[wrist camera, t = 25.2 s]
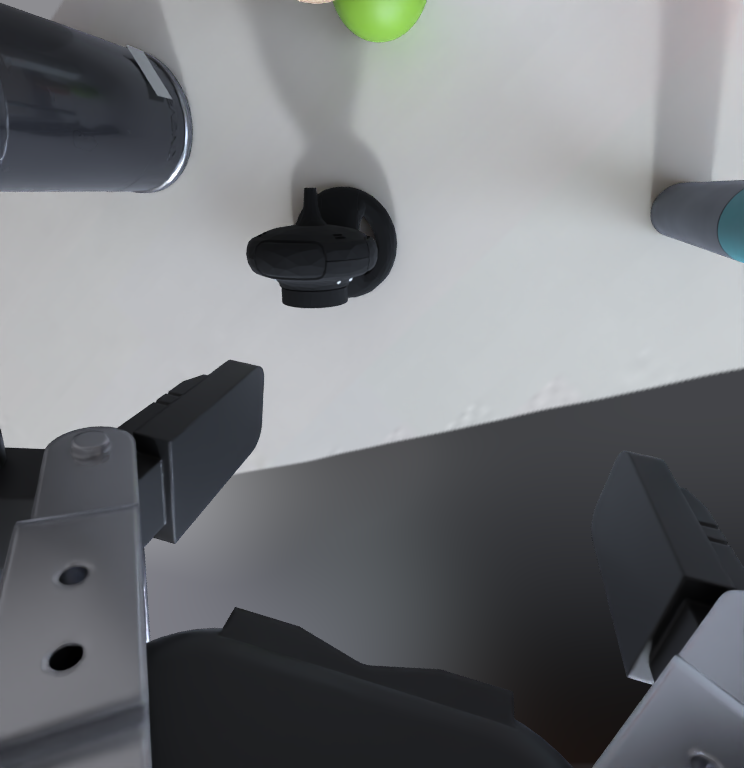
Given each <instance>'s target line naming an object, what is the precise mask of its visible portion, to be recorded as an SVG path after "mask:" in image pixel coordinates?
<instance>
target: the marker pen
mask: <svg viewBox="0 0 744 768" xmlns="http://www.w3.org/2000/svg"><path fill="white" fill-rule="evenodd" d="M651 221H652V224H653V226H654V227H655V229H656V230H657V231H658V232H659V233H661V234H663V235H665V236H668V237H671V238H674V239H677V240H679V241H682V242H685V243H688V244H691V245H694V246H697V247H700V248H702V249H705V250H708V251H711V252H714V253H717V254H720V255H722V256H725V257H728V258H731V259H734V260H737V261H740V262H742V263H744V180H734V181H711V182H687V183H678V184H675V185H672V186H670V187H668V188H666V189H665V190H664V191H662V192H661V193H660V194H659V195H658V197H657V198H656V199H655V201H654V203H653V205H652V209H651Z"/></svg>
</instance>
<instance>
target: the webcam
mask: <svg viewBox="0 0 744 768" xmlns="http://www.w3.org/2000/svg"><path fill="white" fill-rule="evenodd" d="M363 217H364V218H365V219H366V220H367V221H368V223H369V224H370V226H371V228H372V230H373V232H374V236H375V240H374V239H373V238H372V237H370V236H367V235H366V234H364V233H362V232H360V231H359V226H360V222H361V220H362V218H363ZM396 248H397V239H396V233H395V228H394V225H393V223H392V220H391V218H390V216H389V214H388V213H387V211H386V209H385V208H384V207H383V206H382V205H381V204H380V203H379V202H378V201H377V200H376V199H375V198H374V197H373V196H371V195H369V194H368V193H366V192H364V191H362V190H359V189H356V188H351V187H335V188H330V189H327V190H324V191H322V192H321V193H319V194H317V192H316V188H304V207H303V209H302V211H301V213H300V215H299V217H298V220H297V222H296V225H291V226H285V227H279V228H275V229H272V230H269V231H267V232H264V233H262V234H260V235H258V236H256V237H254V238H252V239H251V240H250V241H249V242H248V246H247V253H246V255H247V260H248V264H249V265H250V267H251V269H252V270H253V271H254V272H255V273H256V274H259V275H262V276H265V277H268V278H272V279H274V280H275V281H278V282H279V284H280V286H281V287H282V302H283V304H285V305H287V306H291V307H298V308H324V307H333V306H338V305H342V304H344V303H346V302H347V301H348V298H350V297H357V296H361V295H364V294H366V293H368V292H370V291H372V290H373V289H375V288H376V287H377V286H378V285H379V284H380V283H381V282H382V281H383V280H384V279H385V278H386V277H387V276H388V274H389V272H390V270H391V268H392V266H393V263H394V260H395V257H396Z"/></svg>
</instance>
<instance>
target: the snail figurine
mask: <svg viewBox="0 0 744 768" xmlns="http://www.w3.org/2000/svg"><path fill="white" fill-rule="evenodd" d="M298 1H301V2H306V3H312V4H322V3H328V2H332V1H333V4H334V6H335V9H336V11H337V13H338V15H339V17H340V19H341V20H342V22H343V23H344V24H345V25H346V27H347V28H348V29H349V30H350V31H351V32H353V33H354V34H355V35H357V36H358V37H360V38H362V39H364V40H367V41H371V42H387V41H391V40H394V39H396V38H398V37H400V36H402V35H403V34H405V33H406V32H407V31H408V30H409V29H410V28H411V27H412V26H413V25H414V24H415V23H416V21H417V20H418V18H419V17H420V15H421V13H422V11H423V9H424V6H425V3H426V0H298Z"/></svg>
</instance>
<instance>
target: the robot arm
mask: <svg viewBox="0 0 744 768" xmlns="http://www.w3.org/2000/svg"><path fill="white" fill-rule="evenodd" d="M126 46H127V47H123V46H121V45H118V44H115V43H112V42H109V41H107V40H104V39H102V38H99V37H96V36H93V35H90V34H88V33H85V32H82V31H79V30H76V29H73V28H70V27H68V26H65V25H62V24H59V23H56V22H53V21H50V20H48V19H45V18H42V17H39V16H36V15H33V14H30V13H28V12H25V11H22V10H19V9H16V8H13V7H10V6H8V5H5V4H2V3H0V192H83V191H107V192H130V191H131V192H137V193H152V192H157V191H161V190H163V189H165V188H167V187H168V186H170V185H171V184H172V183H174V182H175V181H176V180H177V179H178V177H179V176H180V175H181V173H182V172H183V170H184V168H185V166H186V164H187V162H188V159H189V156H190V152H191V146H192V120H191V114H190V109H189V106H188V102H187V100H186V97H185V94H184V92H183V90H182V88H181V86H180V84H179V83H178V81H177V80H176V78H175V77H174V75H173V74H172V73H171V71H170V70H169V69H168V68H167V67H166V66H165V65H164V64H163V63H162V62H161V61H159V60H158V59H157V58H155V57H153V56H152V55H150V54H148V53H146V52H143V50H140V49H137V48H134V47H131V46H129V45H126ZM263 390H264V372H263V369H262V367H260V366H256V365H251V364H247V363H243V362H238V361H234V360H228V361H227V362H225V363H224V364H223V365H221V366H220V367H219V368H217V369H216V370H215V371H213V372H212V373H211V374H209V375H201V376H198V377H195V378H192V379H189V380H186V381H183V382H182V383H180V384H179V385H177V386H176V387H175V388H173V389H172V390H170V391H169V393H168V394H165V395H163V396H162V397H160V398H159V399H158V400H157V401H156V403H154V402H153V403H152V404H150V405H149V406H148V407H146V408H145V409H143V410H142V411H141V412H139V413H138V414H136V415H135V416H133V417H132V418H131V419H129V420H128V421H126V422H125V423H124V424H122V425H121V426H119V427H118V428H114V427H101V426H100V427H88V428H82V429H78V430H74V431H71V432H68V433H66V434H63V435H61V436H59V437H57V438H56V439H55V440H53V441H52V442H51V443H50V444H49V445H48V446H47V447H46V449H28V448H5V447H4V442H3V438H2V433H1V429H0V768H573V767H572V766H571V765H570V764H569V763H568V762H567V761H566V760H565V759H564V758H563V757H562V756H561V755H560V753H559V752H557V751H556V750H555V749H554V748H553V747H552V746H551V745H549V744H548V743H547V742H546V741H545V740H544V739H543V738H541V737H540V736H539V735H537V734H536V733H534V732H533V731H532V730H530V729H529V728H528V727H526V726H525V725H523V724H522V723H520V722H518V721H517V720H515V719H514V698H513V691H510V690H506V689H503V688H500V687H497V686H493V685H490V684H487V683H483V682H480V681H477V680H473V679H470V678H467V677H464V676H460V675H457V674H454V673H450V672H447V671H444V670H439V669H421V668H404V667H386V666H370V665H365V664H362V663H360V662H358V661H356V660H354V659H353V658H351V657H349V656H347V655H346V654H344V653H342V652H341V651H339V650H338V649H336V648H334V647H333V646H331V645H329V644H328V643H326V642H324V641H323V640H321V639H319V638H318V637H316V636H314V635H312V634H311V633H309V632H308V631H306V630H304V629H303V628H301V627H299V626H296V625H292V624H289V623H286V622H283V621H279V620H276V619H273V618H270V617H266V616H263V615H260V614H256V613H253V612H250V611H247V610H243V609H240V608H237V607H235V608H234V610H233V612H232V613H231V615H230V617H229V618H228V620H227V622H226V624H225V625H224V627H223V628H207V629H195V630H189V631H183V632H178V633H175V634H171V635H168V636H164V637H160V638H158V639H155V640H153V641H150V629H149V614H148V598H147V583H146V566H145V553H144V547H145V546H146V545H147V543H149V541H150V540H151V539H152V538H157V539H160V540H163V541H167V542H170V543H173V544H175V543H176V542H177V541H178V540H179V538H180V537H181V536H182V535H183V534H184V533H185V531H186V530H187V529H188V528H189V527H190V525H191V524H192V523H193V522H194V521H195V520H196V518H197V517H198V516H199V515H200V514H201V512H202V511H203V510H204V509H205V508H206V506H207V505H208V504H209V503H210V502H211V500H212V499H213V498H214V497H215V496H216V494H217V493H218V492H219V491H220V489H221V488H222V487H223V486H224V485H225V484H226V482H227V481H228V480H229V479H230V478H231V476H232V475H233V474H234V473H235V472H236V470H237V469H238V468H239V467H240V466H241V465H242V463H243V462H244V461H245V460H246V459H247V457H248V456H249V455H250V454H251V453H252V451H253V450H254V448H255V447H256V445H257V442H258V440H259V437H260V433H261V428H262V411H263ZM591 534H592V535H591V536H592V541H593V544H594V549H595V552H596V556H597V560H598V564H599V568H600V572H601V576H602V580H603V584H604V588H605V592H606V596H607V600H608V604H609V608H610V612H611V616H612V619H613V623H614V627H615V631H616V635H617V639H618V643H619V647H620V651H621V655H622V659H623V663H624V667H625V670H626V675H627V677H629V678H632V679H635V680H639V681H642V682H646V683H650V684H653V685H652V687H651V688H650V689H649V691H648V692H647V694H646V695H645V696H644V698H643V699H642V700H641V702H640V703H639V705H638V706H637V707H636V709H635V710H634V712H633V713H632V714H631V716H630V717H629V718H628V720H627V721H626V723H625V724H624V725H623V726H622V728H621V729H620V731H619V732H618V733H617V735H616V736H615V738H614V739H613V740H612V742H611V743H610V744H609V746H608V747H607V748H606V750H605V751H604V753H603V754H602V755H601V757H600V758H599V760H598V761H597V762H596V764H595V765H594V766H593V768H744V568H743V566H742V564H741V563H740V561H739V559H738V558H737V556H736V554H735V553H734V551H733V550H732V548H731V546H728V545H727V544H728V541H727V540H726V538H725V536H724V535H723V533H722V531H721V530H719V529H718V525H717V523H716V522H715V520H714V518H713V517H712V515H711V513H710V512H709V510H708V509H707V507H706V506H705V505H704V504H702V503H701V502H700V501H699V500H698V499H697V498H696V497H695V496H694V495H693V494H692V493H690V492H689V491H688V490H687V489H685V488H680V487H679V486H678V484H677V482H676V480H675V478H674V477H673V475H672V473H671V471H670V470H669V468H668V466H667V464H666V463H665V461H664V460H663V459H659V458H655V457H650V456H646V455H642V454H637V453H633V452H629V451H622V452H621V453H620V454H619V455H618V457H617V458H616V460H615V463H614V465H613V467H612V470H611V472H610V474H609V477H608V479H607V481H606V484H605V486H604V489H603V491H602V493H601V496H600V498H599V500H598V503H597V505H596V507H595V510H594V513H593V518H592V524H591Z"/></svg>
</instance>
